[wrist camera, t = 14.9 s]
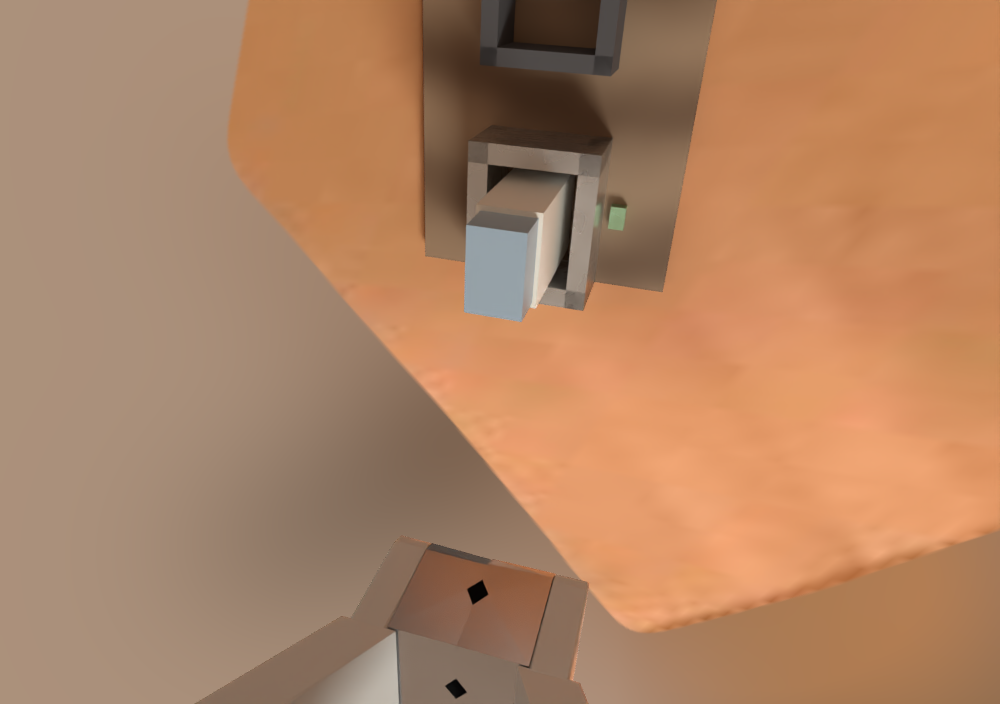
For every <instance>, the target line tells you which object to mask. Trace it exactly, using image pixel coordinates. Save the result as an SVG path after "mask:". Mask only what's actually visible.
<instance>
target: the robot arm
mask: <svg viewBox="0 0 1000 704" xmlns="http://www.w3.org/2000/svg"><path fill="white" fill-rule="evenodd" d="M588 589H589V583H588V582H585V581H581V580H577V579H573V578H569V577H564V576H561V575H557V574H556V576H555V574H554V573H550V572H545V571H541V570H537V569H533V568H529V567H524V566H520V565H516V564H512V563H507V562H503V561H499V560H495V559H492V560H490V559H487V558H483V557H480V556H476V555H472V554H469V553H465V552H462V551H458V550H454V549H451V548H447V547H444V546H440V545H436V544H433V543H428V542H424V541H420V540H417V539H413V538H409V537H406V536H401V537H400V538H398V539H397V541H395V542H394V543H393V545H392V547H391V549H390V550H389V552H388V554H387V556H386V557H385V559H384V561H383V563H382V564H381V566H380V568H379V570H378V571H377V573H376V575H375V577H374V579H373V580H372V582H371V584H370V585H369V587H368V589H367V591H366V593H365V595H364V596H363V598H362V600H361V601H360V603H359V605H358V606H357V608H356V610H355V612H354V614H353V615H352V617H351V618H348V617H344V616H341V617H339V618H337V619H336V620H334V621H332V622H331V623H329V624H328V625H326V626H324V627H322V628H321V629H319V630H317V631H316V632H314V633H312V634H311V635H309V636H307V637H306V638H304V639H302V640H301V641H299V642H297V643H296V644H294V645H292V646H291V647H289V648H287V649H286V650H284V651H282V652H281V653H279V654H277V655H275V656H274V657H273V658H270V659H269V660H267V661H265V662H264V663H262V664H261V665H259V666H257V667H255V668H254V669H252V670H250V671H249V672H247V673H245V674H244V675H242V676H240V677H239V678H237V679H235V680H234V681H232V682H230V683H229V684H227V685H225V686H224V687H222V688H220V689H218V690H217V691H215V692H213V693H212V694H210V695H209V696H207V697H205V698H204V699H202V700H200V701H199V702H197V703H195V704H588V702H587V699H586V697H585V694H584V692H583V689H582V687H581V684H580V683H578V682H575V681H573V677H574V672H575V667H576V661H577V654H578V649H579V643H580V637H581V631H582V625H583V619H584V613H585V607H586V600H587V595H588Z"/></svg>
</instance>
